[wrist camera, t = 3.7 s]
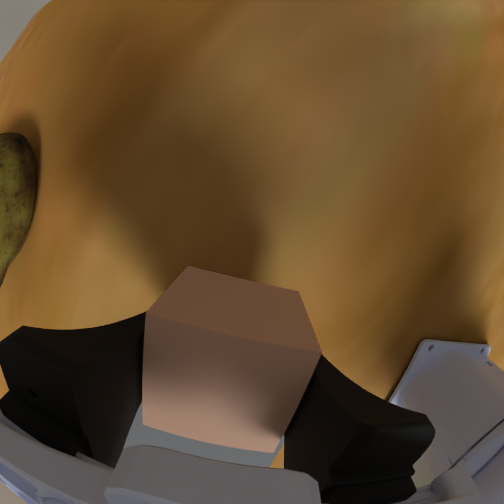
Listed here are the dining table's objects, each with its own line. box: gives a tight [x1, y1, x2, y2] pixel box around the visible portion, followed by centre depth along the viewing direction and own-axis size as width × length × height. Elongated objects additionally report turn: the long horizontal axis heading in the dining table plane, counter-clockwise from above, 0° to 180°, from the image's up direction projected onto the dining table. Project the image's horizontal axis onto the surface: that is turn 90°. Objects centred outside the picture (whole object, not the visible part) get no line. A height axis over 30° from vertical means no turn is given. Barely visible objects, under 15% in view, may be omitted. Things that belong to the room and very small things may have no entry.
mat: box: [121, 402, 284, 467], centre depth 18 cm, size 14×14×1 cm
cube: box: [142, 266, 322, 453], centre depth 10 cm, size 5×5×5 cm
